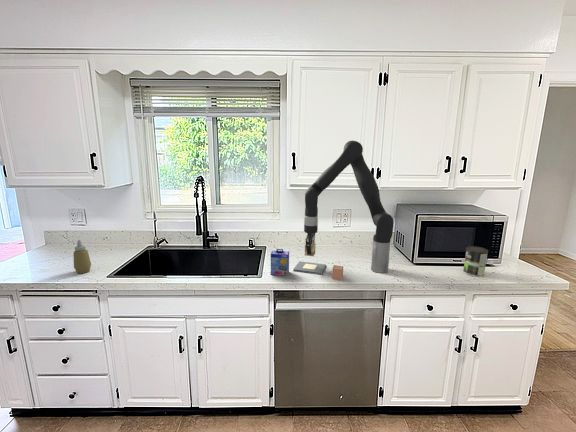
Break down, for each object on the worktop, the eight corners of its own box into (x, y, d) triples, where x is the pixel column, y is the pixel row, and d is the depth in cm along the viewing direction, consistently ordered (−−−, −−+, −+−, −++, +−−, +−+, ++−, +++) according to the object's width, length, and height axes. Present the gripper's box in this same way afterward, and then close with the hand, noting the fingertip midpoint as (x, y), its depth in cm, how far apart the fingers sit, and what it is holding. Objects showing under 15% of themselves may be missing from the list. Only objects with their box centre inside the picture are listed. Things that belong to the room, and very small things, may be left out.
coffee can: (467, 276, 169) (470, 251, 166) (460, 269, 179) (463, 245, 176) (487, 277, 167) (491, 252, 164) (479, 270, 177) (483, 246, 174)
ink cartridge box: (270, 275, 169) (270, 249, 166) (271, 271, 174) (271, 246, 171) (288, 275, 168) (288, 250, 165) (289, 271, 173) (289, 246, 170)
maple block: (315, 253, 178) (315, 243, 177) (313, 256, 173) (313, 246, 172) (306, 252, 179) (307, 242, 178) (304, 255, 175) (304, 245, 173)
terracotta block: (342, 276, 167) (343, 266, 166) (341, 280, 163) (342, 269, 161) (333, 275, 169) (334, 265, 168) (332, 279, 164) (332, 268, 163)
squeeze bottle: (93, 268, 176) (89, 237, 172) (90, 273, 169) (86, 241, 165) (76, 270, 174) (72, 239, 170) (72, 275, 166) (67, 243, 162)
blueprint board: (325, 266, 182) (325, 264, 182) (321, 274, 170) (321, 272, 170) (299, 262, 187) (299, 260, 186) (293, 270, 174) (293, 268, 174)
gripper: (314, 227, 165) (313, 257, 168) (320, 221, 178) (319, 249, 182) (301, 226, 167) (300, 256, 171) (307, 220, 180) (306, 248, 184)
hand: (310, 252), depth 176 cm, fingers closed on maple block, 5 cm apart
